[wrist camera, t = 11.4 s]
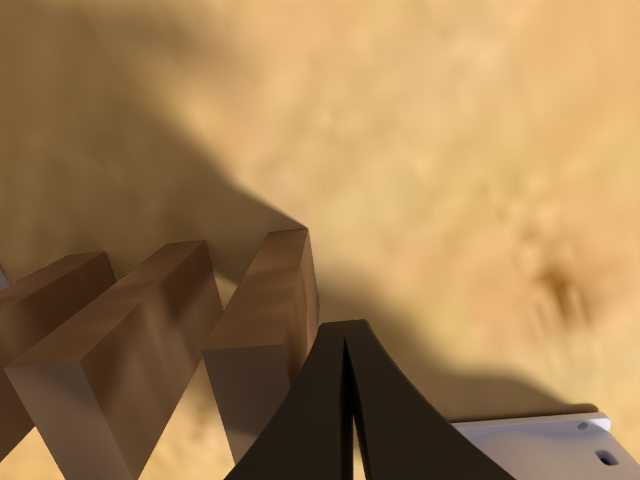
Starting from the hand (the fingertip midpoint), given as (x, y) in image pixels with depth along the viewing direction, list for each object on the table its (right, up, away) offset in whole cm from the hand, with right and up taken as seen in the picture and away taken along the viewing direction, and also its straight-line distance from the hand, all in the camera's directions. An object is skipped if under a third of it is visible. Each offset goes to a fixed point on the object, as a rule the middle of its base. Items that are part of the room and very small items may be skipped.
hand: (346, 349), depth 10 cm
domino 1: (-2, +2, +6) cm, 6 cm away
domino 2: (-7, +1, +6) cm, 9 cm away
